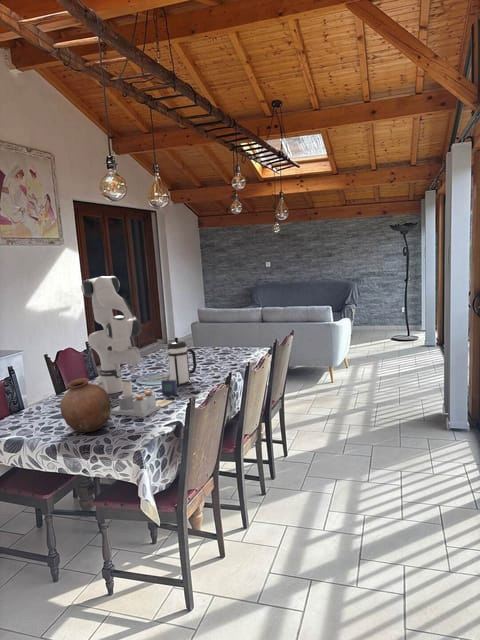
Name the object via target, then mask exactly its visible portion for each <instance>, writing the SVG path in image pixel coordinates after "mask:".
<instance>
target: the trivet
mask: <svg viewBox="0 0 480 640" xmlns="http://www.w3.org/2000/svg"><path fill="white" fill-rule="evenodd" d="M173 402H174V400H166V399H165V400H164V399H157V400H156V404H159V405H160V409H161V408H162V409H163V408H166V407H167V406H168V405H170V404H172V403H173Z"/></svg>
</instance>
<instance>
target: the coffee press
mask: <svg viewBox="0 0 480 640" xmlns="http://www.w3.org/2000/svg"><path fill="white" fill-rule="evenodd" d="M165 352H166V353H167V361H168V367H169V368H168V370H169V377H170V379H169V380H173V379H176V384H177V388H179V387H180V385H182V384H186V383H188V384H190V385H191V384H192V383H193V380H191V376H190V375H191V374H194V373H195V372H196V371H197V358H196V353H195V351H194V350H193V349H191V348H188V344H187V343H186V341H184V340H179V338H178V337H174V340H173V341H170V342H168V343H167V346H166V350H165ZM188 353H190V354H191V356H192V357H191V358H192V369H191V370H190V366H189V365H190V364H189V354H188Z"/></svg>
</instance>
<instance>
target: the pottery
mask: <svg viewBox="0 0 480 640" xmlns="http://www.w3.org/2000/svg"><path fill="white" fill-rule="evenodd" d="M89 382H90V379H89V378H87V377H82V378H81V377H80V378H77V379H73V380H72V381H70V382H69V383H68V384H67V387H68V388H69V389H68V390H67V391H66V392H65V393H64V395H63V396H62V398H61V400H60V405H59V407H60V413H61V417H62V418H63V420H64V421H65V423H66V425H67V426H69V428H71V429H72V430H73V431H75V432H79V433H90V432H91V433H92V432H95V431H98V430H99V429H101V428H102V427H104V426H106V424H107V422H108V421H109V419H110V418H111V415H112V414H111V410H112V409H111V408H112V406H111V399H110V396H109V394H107V392H106V391H105V390H104V389H103V388H101V387H100V386H97V385H94V384H93V383H89Z"/></svg>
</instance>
